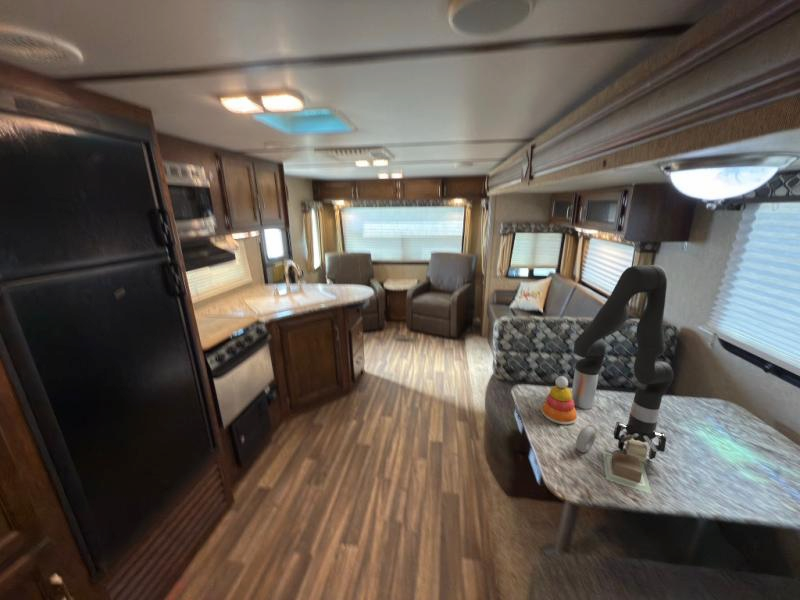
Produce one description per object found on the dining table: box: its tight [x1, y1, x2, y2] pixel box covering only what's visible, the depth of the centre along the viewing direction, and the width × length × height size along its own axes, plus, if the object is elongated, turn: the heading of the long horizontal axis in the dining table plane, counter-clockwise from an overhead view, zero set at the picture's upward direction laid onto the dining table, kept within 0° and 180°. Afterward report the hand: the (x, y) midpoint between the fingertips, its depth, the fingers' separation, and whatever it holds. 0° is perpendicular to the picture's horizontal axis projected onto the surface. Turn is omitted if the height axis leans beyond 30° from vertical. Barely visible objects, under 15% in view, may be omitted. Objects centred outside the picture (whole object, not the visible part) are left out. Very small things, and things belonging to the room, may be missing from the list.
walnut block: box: [612, 450, 642, 482], centre depth 103 cm, size 7×7×4 cm
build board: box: [602, 450, 653, 495], centre depth 103 cm, size 14×12×1 cm
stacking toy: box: [540, 375, 579, 425], centre depth 130 cm, size 14×14×20 cm
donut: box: [575, 426, 597, 453], centre depth 112 cm, size 10×4×10 cm, turn 123°
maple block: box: [624, 439, 648, 463], centre depth 109 cm, size 5×5×6 cm
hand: (635, 453), depth 109 cm, fingers open, 8 cm apart
